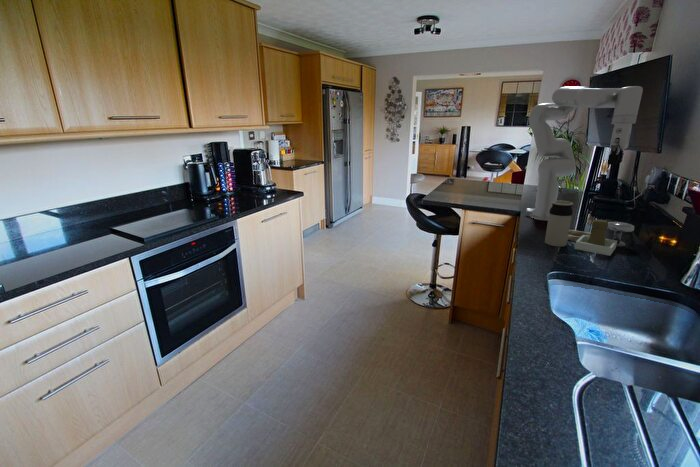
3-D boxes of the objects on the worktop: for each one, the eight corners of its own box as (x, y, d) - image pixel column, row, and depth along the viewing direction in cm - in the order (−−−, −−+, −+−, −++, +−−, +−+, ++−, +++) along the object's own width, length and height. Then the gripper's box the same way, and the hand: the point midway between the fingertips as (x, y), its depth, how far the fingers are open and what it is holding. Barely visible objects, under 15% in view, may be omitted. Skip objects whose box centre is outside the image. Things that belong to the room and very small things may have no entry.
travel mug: (569, 247, 134) (577, 204, 129) (548, 246, 136) (555, 204, 130) (562, 241, 142) (569, 200, 136) (541, 240, 143) (548, 200, 138)
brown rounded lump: (598, 243, 136) (604, 218, 132) (608, 248, 130) (614, 222, 127) (583, 243, 136) (588, 218, 133) (592, 248, 130) (597, 222, 127)
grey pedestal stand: (600, 244, 136) (604, 224, 134) (604, 239, 142) (608, 220, 140) (627, 249, 130) (632, 228, 128) (631, 243, 136) (636, 223, 134)
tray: (574, 248, 133) (575, 241, 132) (581, 241, 140) (583, 234, 139) (610, 255, 125) (611, 248, 124) (615, 247, 132) (617, 240, 131)
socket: (561, 238, 145) (562, 234, 144) (568, 233, 151) (569, 229, 151) (589, 243, 138) (590, 239, 137) (594, 238, 144) (595, 233, 144)
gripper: (632, 120, 123) (621, 166, 128) (639, 119, 134) (629, 162, 140) (607, 120, 128) (598, 165, 134) (616, 120, 140) (607, 161, 145)
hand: (614, 163), depth 137 cm, fingers open, 9 cm apart
